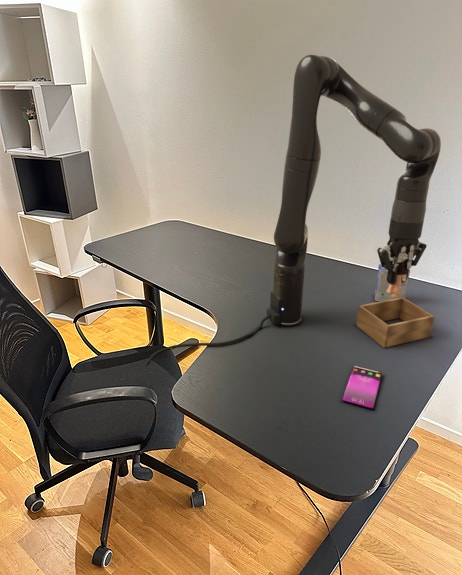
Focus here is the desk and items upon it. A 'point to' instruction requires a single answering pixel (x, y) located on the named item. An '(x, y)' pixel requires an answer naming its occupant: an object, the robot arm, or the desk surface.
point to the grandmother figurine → (398, 279)
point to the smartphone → (362, 387)
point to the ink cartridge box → (387, 286)
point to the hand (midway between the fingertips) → (396, 282)
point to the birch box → (398, 333)
